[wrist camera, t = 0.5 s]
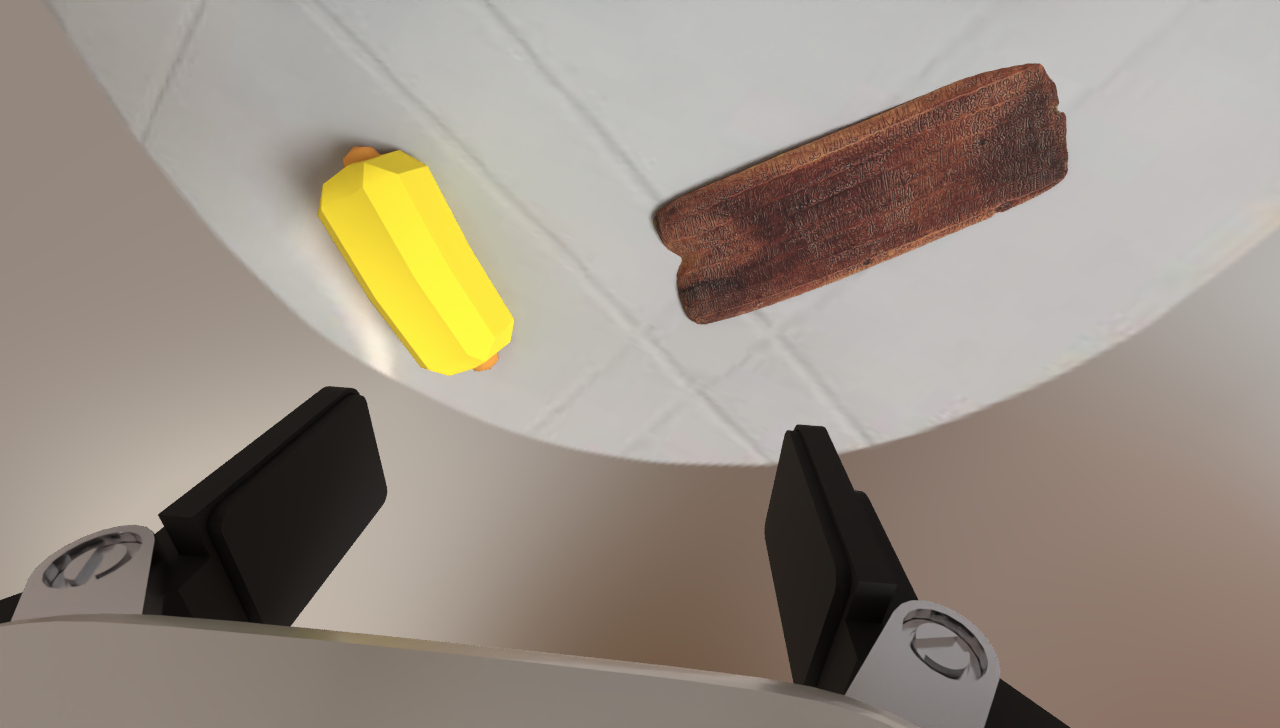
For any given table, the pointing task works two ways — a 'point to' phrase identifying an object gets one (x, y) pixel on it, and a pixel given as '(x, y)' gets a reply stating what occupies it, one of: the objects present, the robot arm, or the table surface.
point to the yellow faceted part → (414, 261)
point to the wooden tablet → (866, 192)
